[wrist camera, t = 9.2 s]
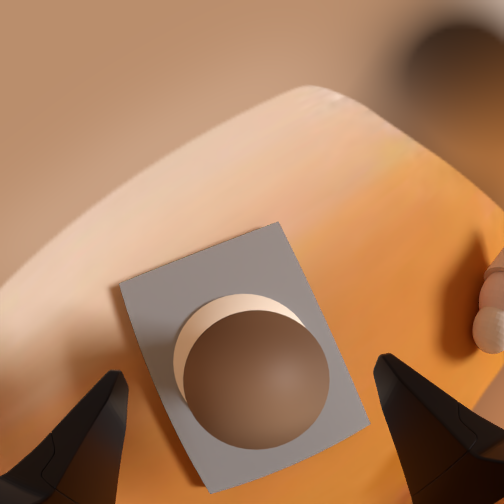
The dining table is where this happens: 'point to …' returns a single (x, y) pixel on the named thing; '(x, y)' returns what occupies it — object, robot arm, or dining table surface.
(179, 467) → the dining table surface
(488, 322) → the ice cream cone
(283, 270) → the serving board
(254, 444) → the pepper mill
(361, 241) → the dining table surface
